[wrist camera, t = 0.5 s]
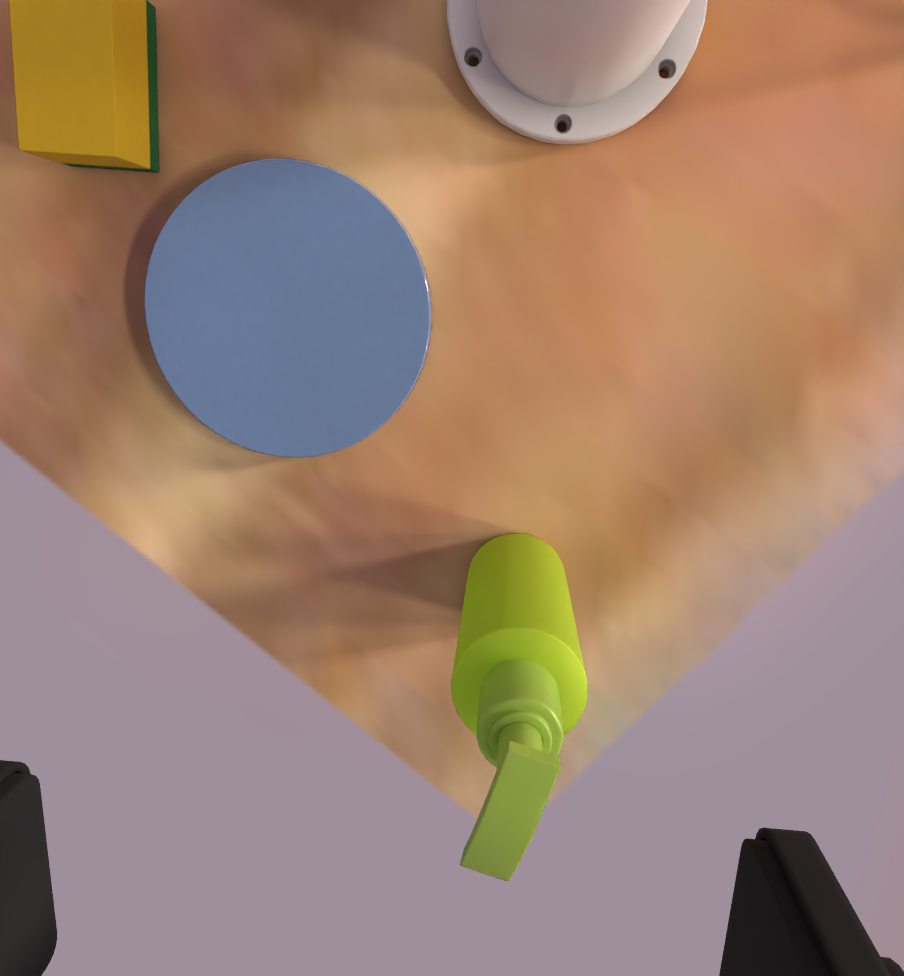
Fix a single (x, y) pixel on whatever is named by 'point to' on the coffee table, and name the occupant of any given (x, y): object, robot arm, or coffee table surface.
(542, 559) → the soap dispenser
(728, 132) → the coffee table surface
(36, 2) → the sponge
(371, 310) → the plate
